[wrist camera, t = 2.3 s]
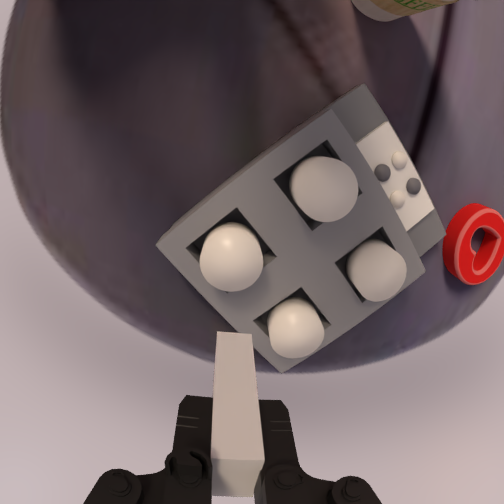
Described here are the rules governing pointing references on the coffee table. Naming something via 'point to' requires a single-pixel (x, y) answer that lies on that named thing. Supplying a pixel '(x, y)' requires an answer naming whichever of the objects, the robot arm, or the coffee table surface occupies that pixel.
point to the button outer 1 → (294, 328)
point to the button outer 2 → (376, 270)
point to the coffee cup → (396, 7)
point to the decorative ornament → (459, 244)
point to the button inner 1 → (231, 257)
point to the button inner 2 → (323, 188)
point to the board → (313, 223)
